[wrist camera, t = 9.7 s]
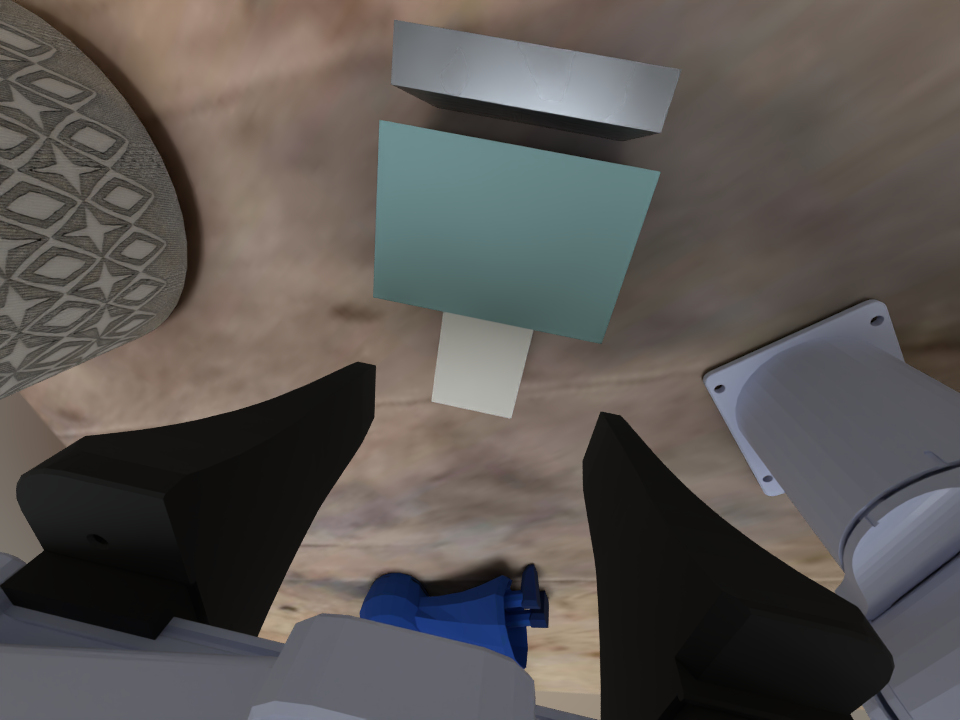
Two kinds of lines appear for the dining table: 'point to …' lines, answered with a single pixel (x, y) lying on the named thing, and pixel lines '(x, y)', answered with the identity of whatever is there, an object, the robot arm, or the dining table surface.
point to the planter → (76, 210)
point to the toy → (463, 611)
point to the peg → (480, 364)
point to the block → (504, 230)
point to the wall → (531, 82)
